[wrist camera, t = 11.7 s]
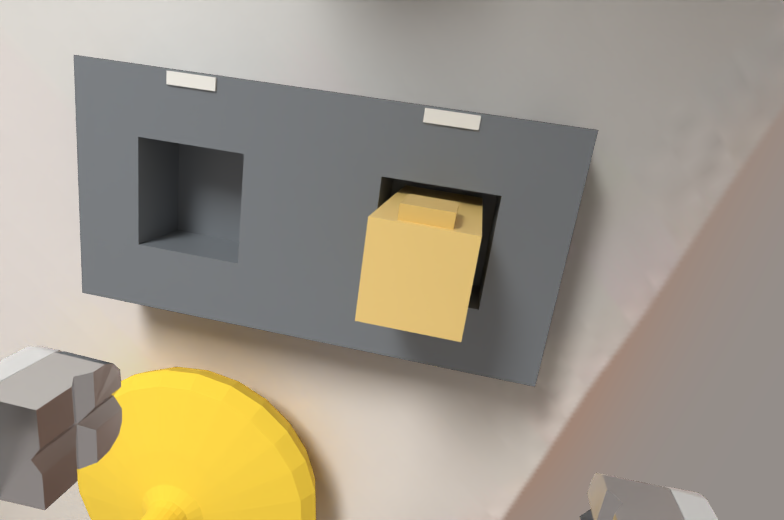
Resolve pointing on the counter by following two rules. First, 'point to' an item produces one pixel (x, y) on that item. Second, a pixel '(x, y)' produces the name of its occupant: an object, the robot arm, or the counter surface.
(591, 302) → the counter surface
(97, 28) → the counter surface
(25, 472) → the robot arm
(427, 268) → the plug
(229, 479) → the yellow round knobbed piece
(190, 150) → the jack panel
